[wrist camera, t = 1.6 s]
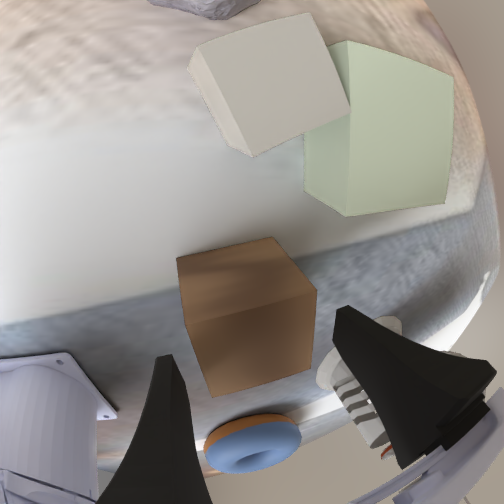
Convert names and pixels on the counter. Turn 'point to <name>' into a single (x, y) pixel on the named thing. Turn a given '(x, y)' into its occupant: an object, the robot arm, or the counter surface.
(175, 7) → the stone block
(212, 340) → the walnut cube
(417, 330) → the counter surface
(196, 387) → the counter surface
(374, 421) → the french press
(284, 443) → the doughnut
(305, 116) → the grey cube
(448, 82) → the sage block
